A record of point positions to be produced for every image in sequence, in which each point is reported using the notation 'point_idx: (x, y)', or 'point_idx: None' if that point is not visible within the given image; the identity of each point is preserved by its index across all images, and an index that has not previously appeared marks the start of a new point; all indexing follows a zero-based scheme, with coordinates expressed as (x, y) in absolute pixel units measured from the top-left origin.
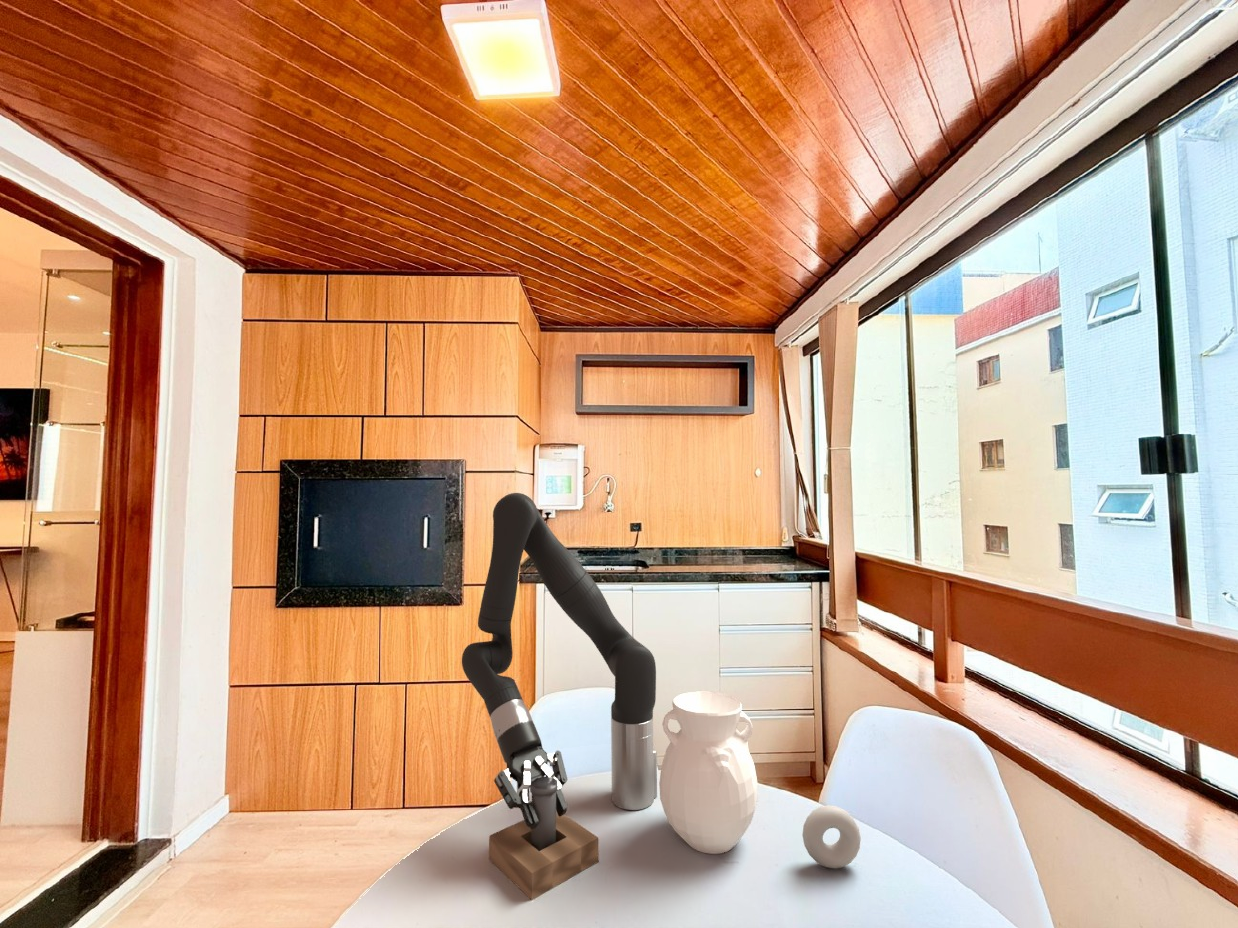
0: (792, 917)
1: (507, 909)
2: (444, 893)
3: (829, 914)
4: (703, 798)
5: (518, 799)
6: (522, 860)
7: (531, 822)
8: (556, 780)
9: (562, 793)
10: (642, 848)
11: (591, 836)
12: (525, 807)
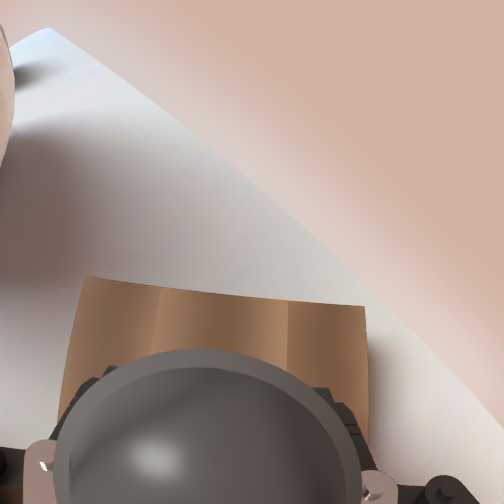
0: (96, 61)
1: (392, 343)
2: (458, 476)
3: (78, 52)
4: (2, 42)
5: (430, 488)
6: (357, 380)
7: (340, 406)
8: (67, 433)
9: (58, 426)
10: (18, 252)
11: (92, 300)
12: (368, 465)
